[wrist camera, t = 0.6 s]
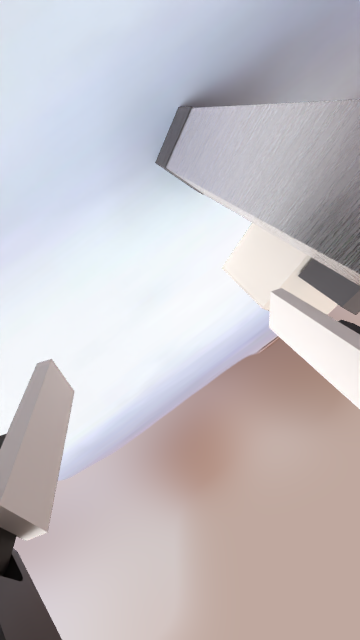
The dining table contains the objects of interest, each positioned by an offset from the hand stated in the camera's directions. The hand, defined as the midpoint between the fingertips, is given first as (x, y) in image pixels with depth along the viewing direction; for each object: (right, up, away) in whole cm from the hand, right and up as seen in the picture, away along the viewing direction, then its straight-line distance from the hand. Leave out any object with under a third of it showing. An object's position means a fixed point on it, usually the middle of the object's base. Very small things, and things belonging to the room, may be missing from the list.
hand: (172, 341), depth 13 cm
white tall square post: (+1, +15, +4) cm, 15 cm away
